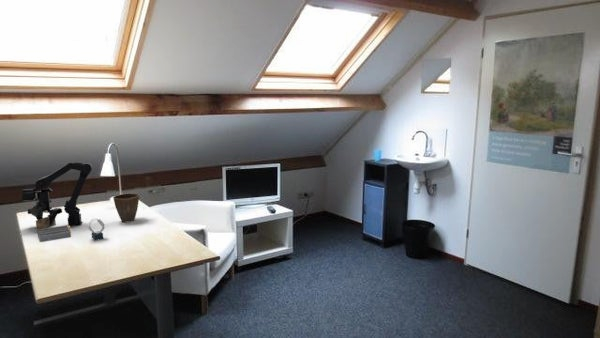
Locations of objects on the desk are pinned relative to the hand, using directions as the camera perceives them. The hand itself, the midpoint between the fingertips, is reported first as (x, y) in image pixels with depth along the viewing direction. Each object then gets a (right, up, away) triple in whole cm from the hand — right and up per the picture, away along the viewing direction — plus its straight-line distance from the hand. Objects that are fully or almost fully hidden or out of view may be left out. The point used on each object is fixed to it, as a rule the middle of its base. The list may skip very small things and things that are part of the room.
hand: (46, 224), depth 243 cm
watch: (+41, -5, -20) cm, 45 cm away
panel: (0, -2, 0) cm, 2 cm away
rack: (+14, -4, -15) cm, 21 cm away
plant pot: (+43, 0, +14) cm, 45 cm away
